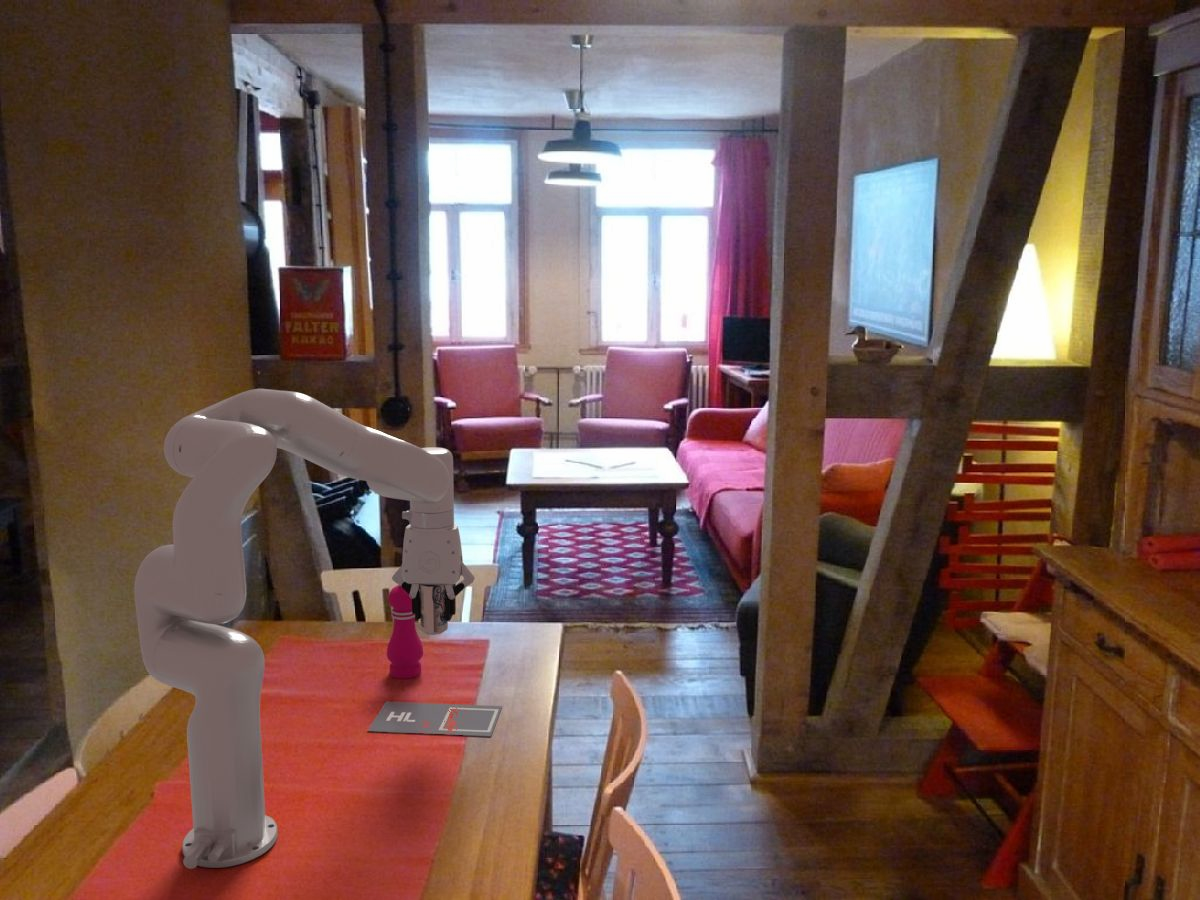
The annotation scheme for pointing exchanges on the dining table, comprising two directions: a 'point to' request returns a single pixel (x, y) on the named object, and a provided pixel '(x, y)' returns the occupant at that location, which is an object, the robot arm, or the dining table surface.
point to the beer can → (433, 609)
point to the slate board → (436, 719)
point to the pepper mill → (403, 637)
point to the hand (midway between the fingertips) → (434, 616)
